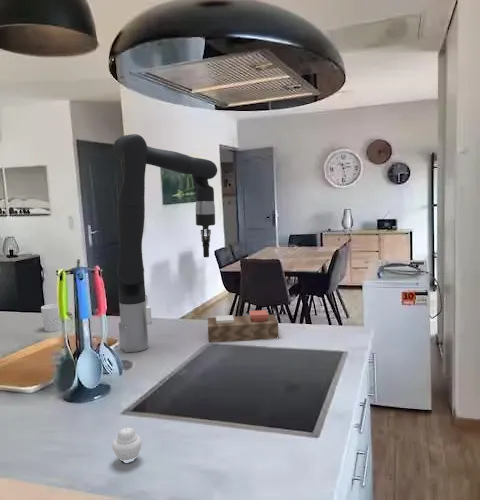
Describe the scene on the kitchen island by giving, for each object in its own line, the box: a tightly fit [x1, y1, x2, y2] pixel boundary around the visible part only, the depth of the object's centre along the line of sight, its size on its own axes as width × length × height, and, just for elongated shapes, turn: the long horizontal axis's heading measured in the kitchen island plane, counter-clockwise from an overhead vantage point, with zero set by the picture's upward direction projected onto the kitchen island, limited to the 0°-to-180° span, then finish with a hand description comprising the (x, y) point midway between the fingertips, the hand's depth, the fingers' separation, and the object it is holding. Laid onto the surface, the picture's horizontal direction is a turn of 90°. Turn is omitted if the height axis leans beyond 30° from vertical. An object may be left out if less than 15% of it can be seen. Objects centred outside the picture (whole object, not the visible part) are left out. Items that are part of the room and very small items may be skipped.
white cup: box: [40, 303, 62, 333], centre depth 198 cm, size 8×8×10 cm
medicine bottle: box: [145, 294, 153, 325], centre depth 204 cm, size 7×7×12 cm
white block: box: [215, 314, 234, 324], centre depth 182 cm, size 7×7×6 cm
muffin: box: [111, 427, 143, 460], centre depth 101 cm, size 6×6×7 cm
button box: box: [207, 314, 279, 343], centre depth 182 cm, size 26×12×6 cm, turn 94°
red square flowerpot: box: [248, 309, 269, 322], centre depth 183 cm, size 7×7×6 cm
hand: (206, 257), depth 188 cm, fingers closed
